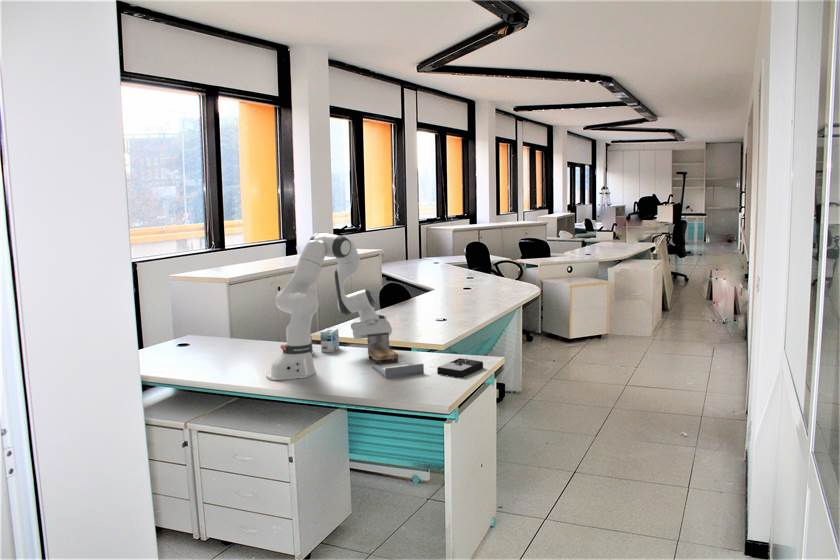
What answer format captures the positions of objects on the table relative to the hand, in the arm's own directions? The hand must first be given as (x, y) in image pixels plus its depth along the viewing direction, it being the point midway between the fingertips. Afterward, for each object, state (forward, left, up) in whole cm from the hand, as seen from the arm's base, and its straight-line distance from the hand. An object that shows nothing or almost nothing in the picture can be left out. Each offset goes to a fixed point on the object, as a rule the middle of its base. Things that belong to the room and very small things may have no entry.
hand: (375, 343), depth 347 cm
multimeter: (+26, -47, -7) cm, 54 cm away
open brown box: (0, -11, -6) cm, 13 cm away
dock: (0, -31, -7) cm, 32 cm away
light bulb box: (-18, +24, -7) cm, 31 cm away
